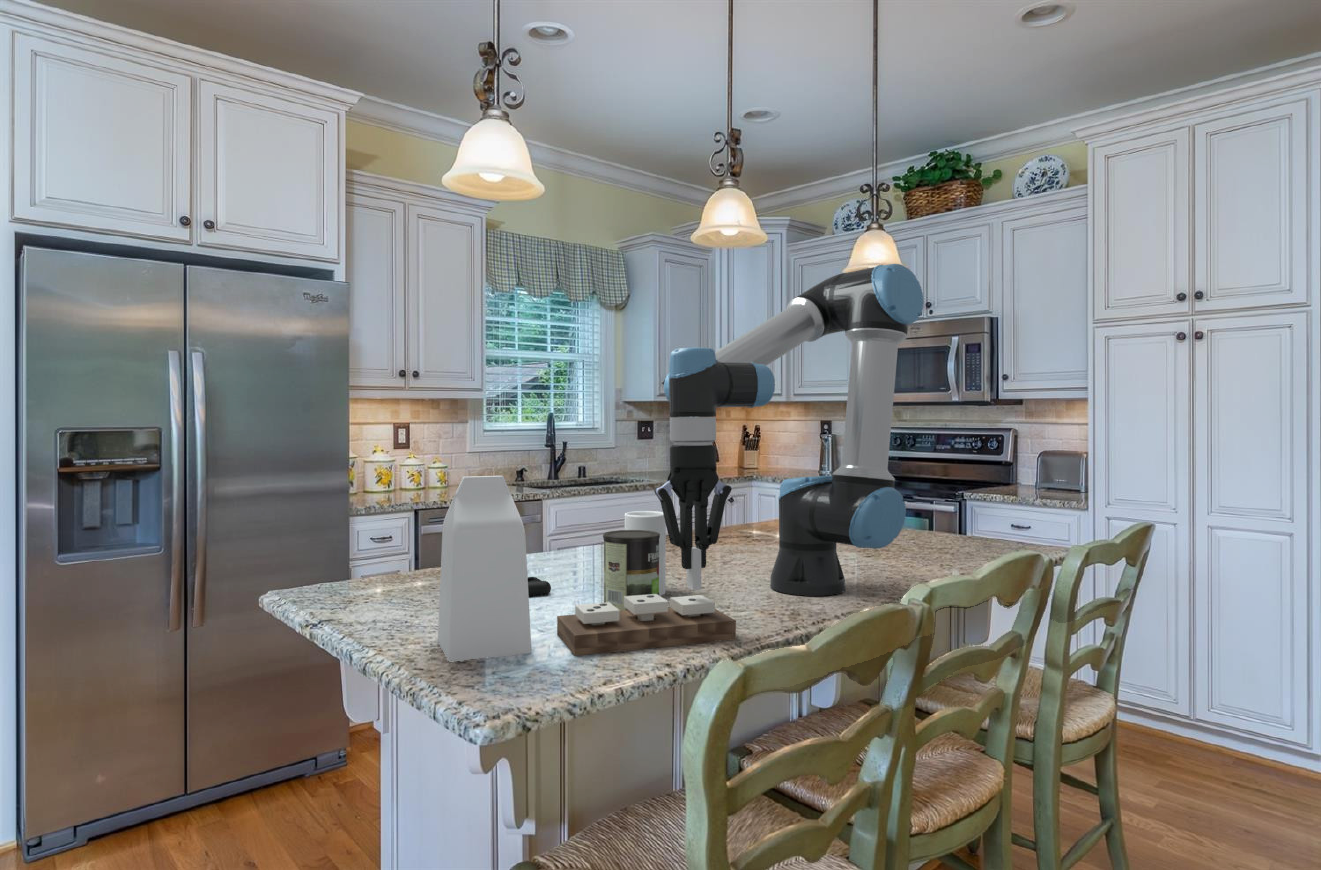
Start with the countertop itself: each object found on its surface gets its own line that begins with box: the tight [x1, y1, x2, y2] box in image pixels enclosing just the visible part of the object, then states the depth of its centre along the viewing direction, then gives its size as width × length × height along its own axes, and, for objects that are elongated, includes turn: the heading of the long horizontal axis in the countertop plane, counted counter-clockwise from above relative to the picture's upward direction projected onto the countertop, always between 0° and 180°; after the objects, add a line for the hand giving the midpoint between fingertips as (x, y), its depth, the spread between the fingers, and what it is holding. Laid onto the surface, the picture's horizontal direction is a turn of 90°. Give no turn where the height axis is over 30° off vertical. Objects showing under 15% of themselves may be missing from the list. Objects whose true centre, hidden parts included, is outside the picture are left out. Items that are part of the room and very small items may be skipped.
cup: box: [624, 510, 667, 597], centre depth 155 cm, size 8×8×16 cm
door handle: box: [528, 576, 552, 598], centre depth 155 cm, size 3×20×16 cm
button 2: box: [624, 594, 669, 621], centre depth 123 cm, size 6×6×4 cm
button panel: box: [556, 606, 737, 657], centre depth 123 cm, size 26×12×3 cm, turn 110°
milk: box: [437, 475, 533, 663], centre depth 117 cm, size 12×12×26 cm
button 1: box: [669, 594, 716, 617], centre depth 126 cm, size 6×6×4 cm
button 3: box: [574, 602, 619, 626], centre depth 120 cm, size 6×6×4 cm
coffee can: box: [602, 529, 660, 611], centre depth 140 cm, size 10×10×14 cm
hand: (694, 588), depth 126 cm, fingers closed
